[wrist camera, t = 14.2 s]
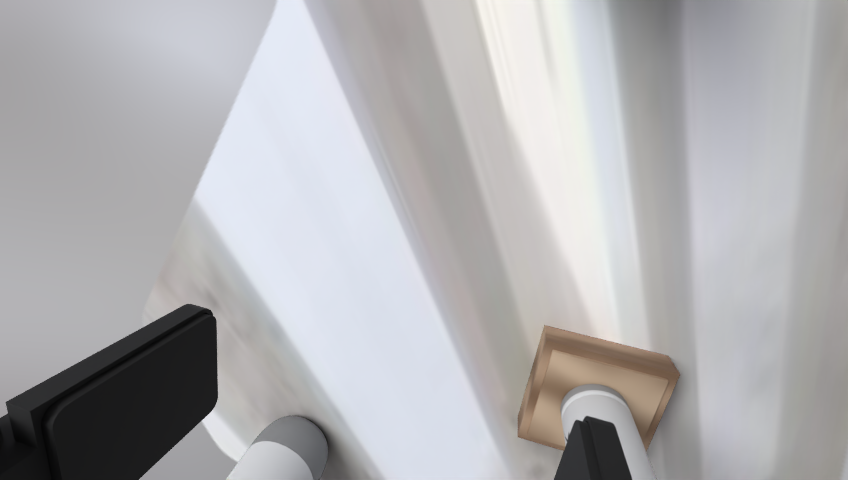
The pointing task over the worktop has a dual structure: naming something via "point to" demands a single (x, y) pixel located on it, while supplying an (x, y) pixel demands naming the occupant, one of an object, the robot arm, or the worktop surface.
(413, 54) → the worktop surface
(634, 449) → the travel mug
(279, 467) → the smart speaker
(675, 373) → the plinth
